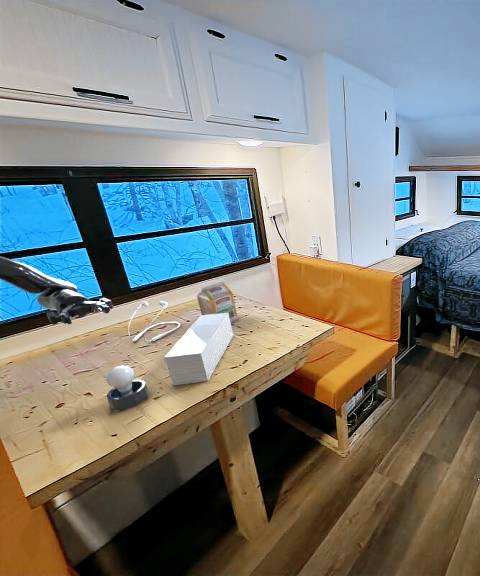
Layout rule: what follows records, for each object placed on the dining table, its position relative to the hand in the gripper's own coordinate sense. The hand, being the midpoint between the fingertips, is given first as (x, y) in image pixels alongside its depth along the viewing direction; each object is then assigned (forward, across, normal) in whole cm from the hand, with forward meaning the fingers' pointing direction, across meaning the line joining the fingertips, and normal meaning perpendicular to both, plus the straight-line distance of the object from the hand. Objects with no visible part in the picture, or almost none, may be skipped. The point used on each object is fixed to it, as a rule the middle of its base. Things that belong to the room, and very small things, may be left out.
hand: (88, 315), depth 90 cm
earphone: (-31, +24, +26) cm, 47 cm away
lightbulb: (+11, 0, +25) cm, 28 cm away
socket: (+11, 0, +26) cm, 28 cm away
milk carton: (-17, +45, +26) cm, 55 cm away
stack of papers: (+8, +25, +26) cm, 37 cm away
